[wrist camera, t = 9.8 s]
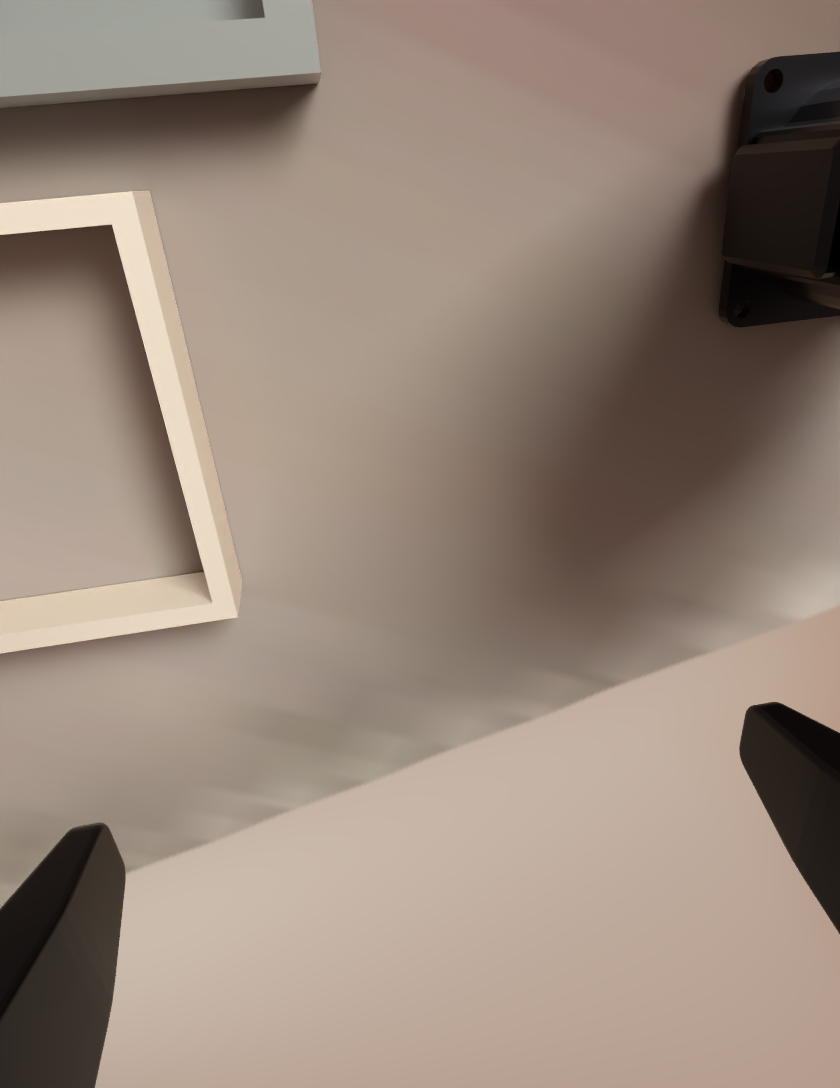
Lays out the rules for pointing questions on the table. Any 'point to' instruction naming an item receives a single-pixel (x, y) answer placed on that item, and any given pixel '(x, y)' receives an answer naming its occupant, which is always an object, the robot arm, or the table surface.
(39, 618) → the frame
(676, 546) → the table surface
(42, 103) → the tray
